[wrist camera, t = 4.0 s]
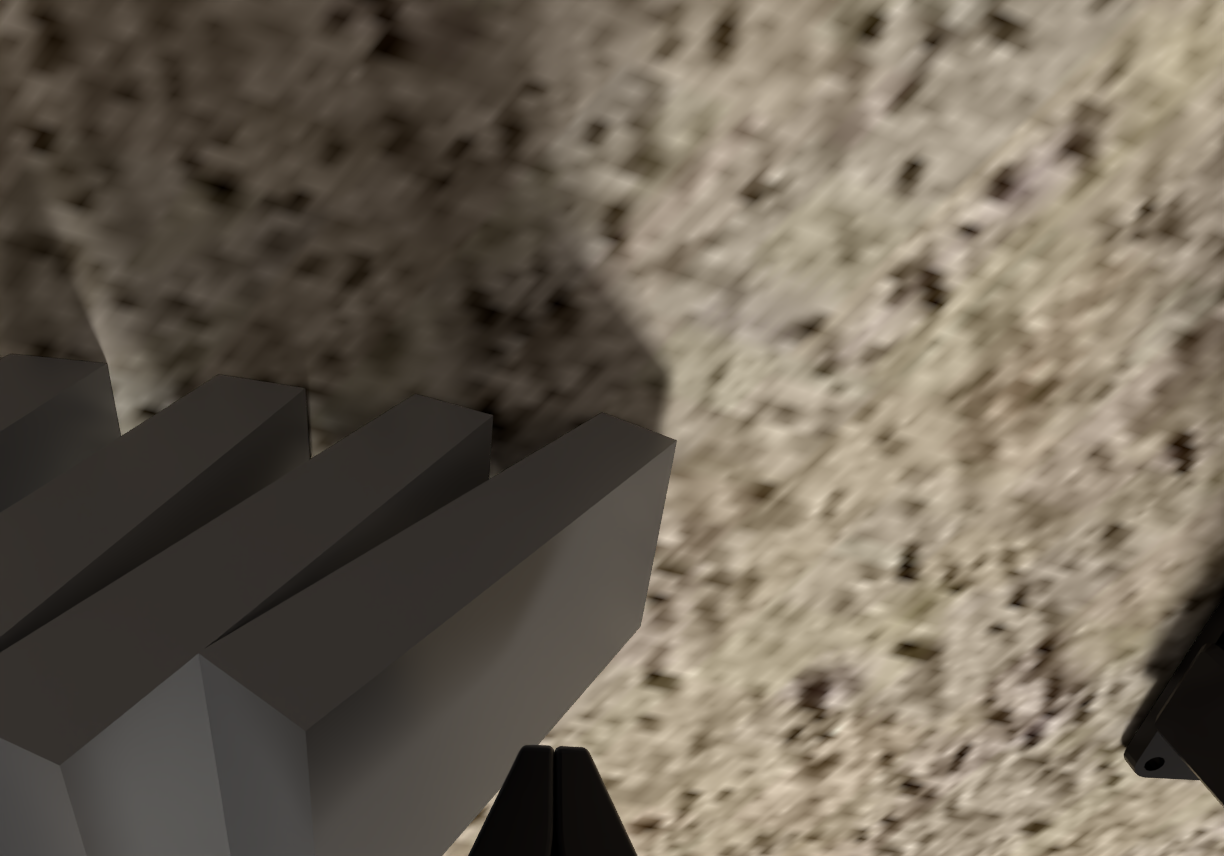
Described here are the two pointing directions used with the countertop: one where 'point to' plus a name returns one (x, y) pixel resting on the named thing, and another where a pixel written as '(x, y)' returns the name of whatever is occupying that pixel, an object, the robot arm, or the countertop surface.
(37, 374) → the tile
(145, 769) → the tile
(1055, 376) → the countertop surface
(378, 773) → the tile
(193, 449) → the tile
